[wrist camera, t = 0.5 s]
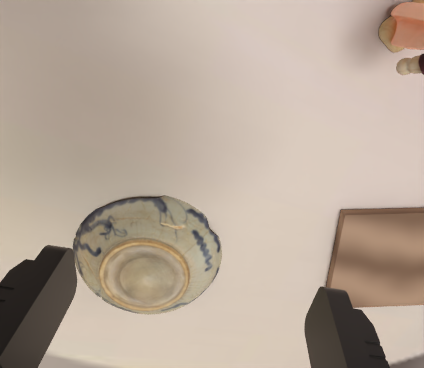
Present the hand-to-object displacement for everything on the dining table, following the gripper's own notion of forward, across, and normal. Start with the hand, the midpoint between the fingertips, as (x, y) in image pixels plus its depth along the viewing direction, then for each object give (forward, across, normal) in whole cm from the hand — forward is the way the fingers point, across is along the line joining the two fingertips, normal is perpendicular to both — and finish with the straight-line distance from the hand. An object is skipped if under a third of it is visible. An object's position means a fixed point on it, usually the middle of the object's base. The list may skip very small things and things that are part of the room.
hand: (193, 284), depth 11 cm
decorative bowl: (+17, +5, +16) cm, 24 cm away
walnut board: (+19, -20, +14) cm, 31 cm away
